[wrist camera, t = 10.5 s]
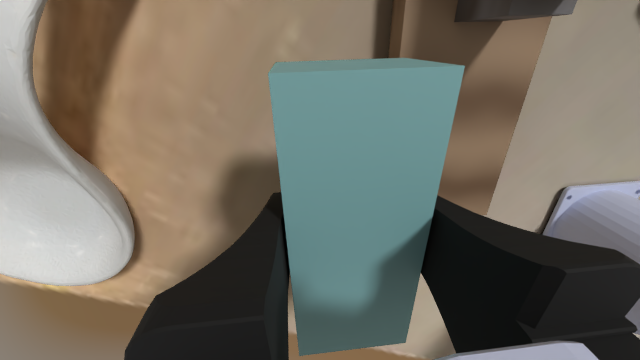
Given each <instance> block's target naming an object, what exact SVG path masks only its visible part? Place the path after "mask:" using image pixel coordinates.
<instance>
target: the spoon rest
mask: <svg viewBox="0 0 640 360" xmlns="http://www.w3.org/2000/svg"><path fill="white" fill-rule="evenodd" d="M46 2H47V0H0V274H3V275H6V276H10V277H13V278H17V279H22V280H26V281H31V282H36V283H42V284H47V285H56V286H81V285H90V284H95V283H98V282H101V281H104V280H107V279H109V278H111V277H113V276H115V275H116V274H117V273H119V272H120V271H121V270H122V269H123V268H124V267H125V266H126V264H127V263H128V262H129V260H130V258H131V256H132V253H133V250H134V241H135V232H134V225H133V220H132V217H131V214H130V211H129V209H128V206H127V204H126V202H125V200H124V198H123V196H122V195H121V193H120V192H119V190H118V189H117V187H116V186H115V185H114V184H113V183H112V182H111V181H110V179H109V178H108V177H107V176H106V175H105V174H104V173H102V172H101V171H100V170H99V169H98V168H96V167H95V166H94V165H92V164H91V163H90V162H88V161H87V160H86V159H84V158H83V157H82V156H80V155H79V154H78V153H77V152H75V151H74V150H73V149H72V148H71V147H70V146H69V145H68V144H67V143H66V142H65V141H64V140H63V139H62V138H61V137H60V136H59V134H58V133H57V132H56V131H55V129H54V128H53V126H52V125H51V124H50V122H49V120H48V119H47V117H46V115H45V114H44V112H43V110H42V108H41V105H40V103H39V100H38V97H37V94H36V90H35V85H34V80H33V50H34V44H35V38H36V33H37V29H38V24H39V21H40V18H41V16H42V13H43V10H44V7H45V5H46Z"/></svg>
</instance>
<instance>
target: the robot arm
mask: <svg viewBox="0 0 640 360" xmlns="http://www.w3.org/2000/svg"><path fill="white" fill-rule="evenodd" d="M639 196H640V181H632V182H619V183H607V184H594V185H581V186H570V187H567V188H565V189H564V190H563V192H562V194H561V196H560V198H559V200H558V202H557V205H556V207H555V209H554V211H553V213H552V215H551V217H550V219H549V221H548V224H547V226H546V228H545V230H544V232H543V234H542V235H541V234H538V233H534V232H530V231H527V230H523V229H520V228H517V227H513V226H510V225H507V224H504V223H501V222H498V221H495V220H493V219H490V218H487V217H484V216H482V215H479V214H477V213H474V212H472V211H470V210H468V209H465V208H463V207H461V206H459V205H457V204H454V203H452V202H450V201H448V200H446V199H444V198H442V197H440V196H438V195H437V198H436V203H435V208H434V212H433V217H432V222H431V226H430V231H429V236H428V240H427V245H426V250H425V254H424V259H423V264H422V268H421V274H422V275H423V277H424V279H425V281H426V283H427V285H428V286H429V289H430V291H431V293H432V295H433V297H434V300H435V302H436V304H437V306H438V309H439V311H440V314H441V316H442V318H443V321H444V323H445V326H446V328H447V330H448V333H449V336H450V338H451V341H452V343H453V346H454V349H455V351H456V354H452V355H448V356H445V357H441V358H437V359H434V360H640V339H639V338H637V337H636V336H635V335H634V334H633V333H635V334H639V335H640V200H639V199H638V197H639ZM289 275H290V266H289V257H288V248H287V239H286V230H285V221H284V212H283V203H282V194H281V192H279V193H273V194H272V195H271V197H270V199H269V201H268V202H267V204H266V205H265V207H264V208H263V210H262V211H261V213H260V214H259V215H258V217H257V218H256V219H255V221H254V222H253V223H252V224H251V226H250V227H249V228H248V229H247V230H246V231H245V233H244V234H243V235H242V236H241V237H240V238H239V239H238V240H237V241H236V242H235V243H234V244H233V245H232V246H231V247H229V248H228V249H227V250H226V251H225V252H223V253H222V254H221V255H220V256H218V257H217V258H216V259H215V260H213V261H212V262H211V263H209V264H208V265H206V266H205V267H204V268H202V269H201V270H199V271H198V272H196V273H195V274H193V275H192V276H190V277H188V278H187V279H185V280H184V281H182V282H180V283H178V284H177V285H175V286H173V287H171V288H170V289H168V290H166V291H164V292H162V293H161V294H159V295H157V296H155V298H154V300H153V301H152V303H151V304H150V306H149V307H148V309H147V311H146V312H145V314H144V316H143V318H142V320H141V322H140V324H139V325H138V327H137V329H136V331H135V333H134V335H133V337H132V338H131V340H130V342H129V344H128V346H127V348H126V350H125V358H124V360H289V359H288V358H289V357H288V287H289Z"/></svg>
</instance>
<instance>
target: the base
mask: <svg viewBox="0 0 640 360" xmlns="http://www.w3.org/2000/svg"><path fill="white" fill-rule="evenodd" d="M576 2H577V0H393V10H392V22H391V33H390V45H389V56H388V58H410V59H418V60H425V61H433V62H440V63H448V64H456V65H463V66H465V68H464V73H463V77H462V82H461V87H460V91H459V96H458V101H457V105H456V110H455V115H454V119H453V124H452V129H451V133H450V138H449V143H448V147H447V152H446V156H445V161H444V166H443V170H442V175H441V180H440V184H439V189H438V194H437V195H438V196H440V197H442V198H444V199H446V200H448V201H450V202H452V203H454V204H457V205H459V206H461V207H463V208H465V209H468V210H470V211H472V212H474V213H477V214H479V215H487V212H488V209H489V206H490V203H491V199H492V196H493V193H494V190H495V187H496V184H497V181H498V178H499V175H500V172H501V169H502V166H503V163H504V160H505V157H506V154H507V151H508V148H509V145H510V142H511V139H512V136H513V133H514V130H515V127H516V124H517V121H518V118H519V115H520V112H521V109H522V106H523V103H524V100H525V97H526V94H527V91H528V88H529V85H530V82H531V79H532V76H533V73H534V70H535V67H536V64H537V61H538V57H539V54H540V51H541V48H542V45H543V42H544V39H545V36H546V33H547V30H548V27H549V24H550V21H551V18H552V16H559V15H569V14H572V13H573V10H574V7H575V4H576Z"/></svg>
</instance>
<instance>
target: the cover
mask: <svg viewBox="0 0 640 360" xmlns="http://www.w3.org/2000/svg"><path fill="white" fill-rule="evenodd" d="M464 68H465V66H463V65H456V64H448V63H440V62H433V61H425V60H418V59H410V58H384V59H356V60H327V61H299V62H276V63H275V64H274V66H273V67H272V68H271V70H270V71H269V73H268V76H269V85H270V94H271V103H272V112H273V121H274V130H275V139H276V149H277V158H278V167H279V176H280V185H281V194H282V203H283V212H284V221H285V230H286V239H287V248H288V257H289V266H290V275H291V284H292V293H293V302H294V312H295V321H296V330H297V339H298V347H299V355H300V356H303V355H310V354H319V353H327V352H335V351H342V350H351V349H359V348H367V347H375V346H383V345H391V344H399V343H406V338H407V333H408V329H409V324H410V319H411V315H412V310H413V306H414V301H415V296H416V292H417V287H418V282H419V278H420V273H421V268H422V264H423V259H424V254H425V250H426V245H427V240H428V236H429V231H430V226H431V222H432V217H433V212H434V208H435V203H436V198H437V194H438V189H439V184H440V180H441V175H442V170H443V166H444V161H445V156H446V152H447V147H448V143H449V138H450V133H451V129H452V124H453V119H454V115H455V110H456V105H457V101H458V96H459V91H460V87H461V82H462V77H463V73H464Z"/></svg>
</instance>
